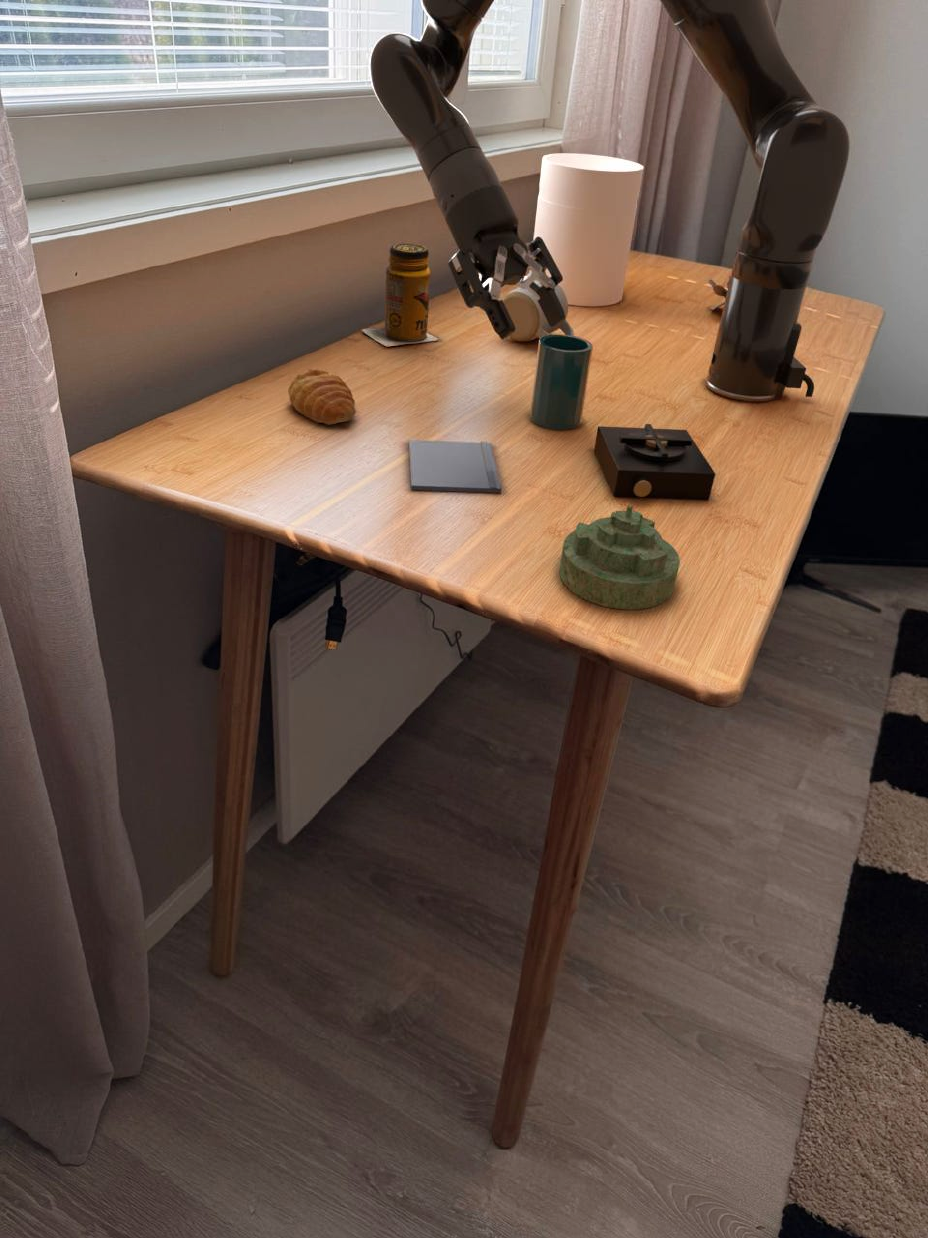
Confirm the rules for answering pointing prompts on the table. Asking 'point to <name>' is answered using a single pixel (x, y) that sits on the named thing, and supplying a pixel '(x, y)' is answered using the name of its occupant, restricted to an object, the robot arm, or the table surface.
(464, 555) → the table surface
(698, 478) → the stove
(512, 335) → the ceramic mug
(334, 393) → the pastry
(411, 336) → the condiment
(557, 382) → the dark teal cup
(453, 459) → the grey notebook
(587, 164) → the canister
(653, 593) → the decorative artifact
